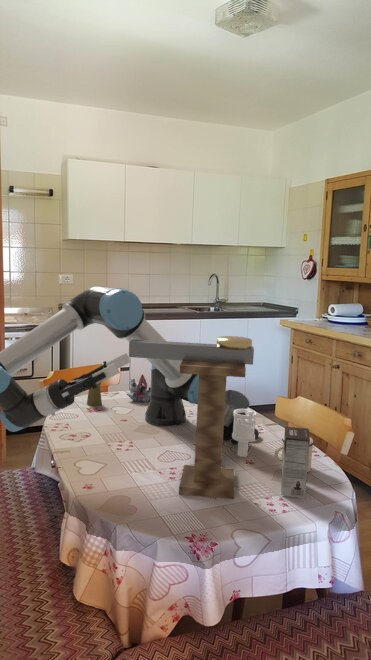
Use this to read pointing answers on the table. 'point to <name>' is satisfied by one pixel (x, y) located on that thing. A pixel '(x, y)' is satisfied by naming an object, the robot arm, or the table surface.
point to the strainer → (243, 429)
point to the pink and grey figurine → (139, 390)
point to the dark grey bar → (196, 350)
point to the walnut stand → (209, 431)
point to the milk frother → (232, 403)
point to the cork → (94, 396)
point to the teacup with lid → (282, 453)
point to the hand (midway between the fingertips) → (123, 362)
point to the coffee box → (295, 462)
